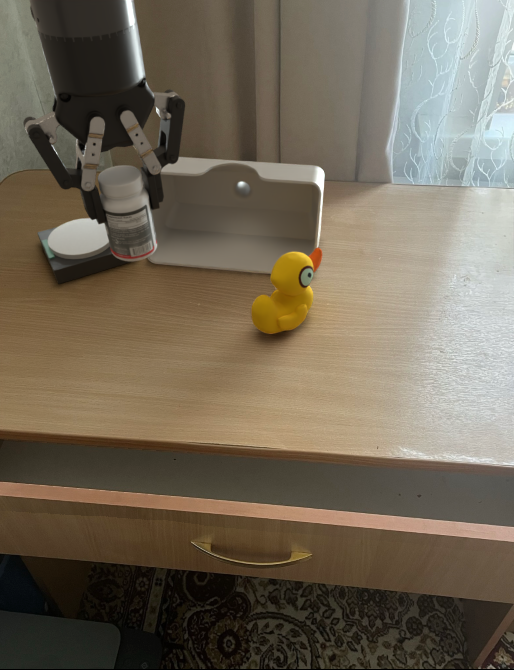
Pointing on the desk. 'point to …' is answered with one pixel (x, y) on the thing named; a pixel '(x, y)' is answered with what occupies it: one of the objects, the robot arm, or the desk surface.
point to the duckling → (287, 293)
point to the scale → (78, 249)
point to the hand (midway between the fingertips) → (127, 211)
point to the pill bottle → (127, 213)
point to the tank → (236, 213)
